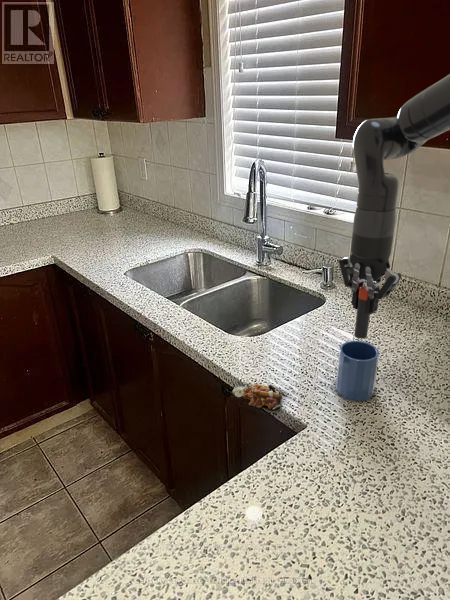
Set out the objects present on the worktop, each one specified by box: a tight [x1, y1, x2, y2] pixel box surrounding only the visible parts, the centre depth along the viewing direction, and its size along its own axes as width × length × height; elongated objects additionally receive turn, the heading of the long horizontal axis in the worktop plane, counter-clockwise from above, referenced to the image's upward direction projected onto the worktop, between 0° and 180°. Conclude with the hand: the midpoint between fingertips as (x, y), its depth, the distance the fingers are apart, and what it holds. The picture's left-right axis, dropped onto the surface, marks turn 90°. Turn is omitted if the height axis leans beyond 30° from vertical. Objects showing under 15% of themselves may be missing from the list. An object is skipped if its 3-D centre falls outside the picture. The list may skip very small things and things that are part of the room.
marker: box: [354, 285, 371, 339], centre depth 93 cm, size 3×3×11 cm
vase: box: [335, 340, 380, 402], centre depth 100 cm, size 8×8×11 cm
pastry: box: [231, 382, 287, 410], centre depth 100 cm, size 7×12×4 cm, turn 68°
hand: (363, 310), depth 93 cm, fingers closed on marker, 2 cm apart
